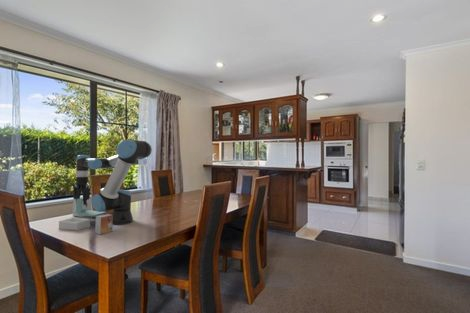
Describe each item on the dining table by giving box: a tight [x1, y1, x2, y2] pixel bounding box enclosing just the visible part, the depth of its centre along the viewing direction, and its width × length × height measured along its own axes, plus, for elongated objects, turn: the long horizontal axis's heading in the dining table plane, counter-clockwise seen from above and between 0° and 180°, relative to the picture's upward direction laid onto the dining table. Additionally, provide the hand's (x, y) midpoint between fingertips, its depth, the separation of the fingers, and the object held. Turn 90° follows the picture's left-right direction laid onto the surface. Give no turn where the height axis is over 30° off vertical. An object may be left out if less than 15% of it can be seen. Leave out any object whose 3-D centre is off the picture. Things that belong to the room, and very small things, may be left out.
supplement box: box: [72, 195, 93, 218], centre depth 190 cm, size 9×9×15 cm
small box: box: [94, 213, 114, 235], centre depth 151 cm, size 8×6×10 cm
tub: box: [58, 216, 91, 232], centre depth 158 cm, size 14×10×5 cm
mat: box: [89, 218, 96, 226], centre depth 172 cm, size 16×12×1 cm
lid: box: [76, 198, 107, 218], centre depth 172 cm, size 19×11×11 cm, turn 77°
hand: (80, 208), depth 174 cm, fingers closed on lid, 4 cm apart
